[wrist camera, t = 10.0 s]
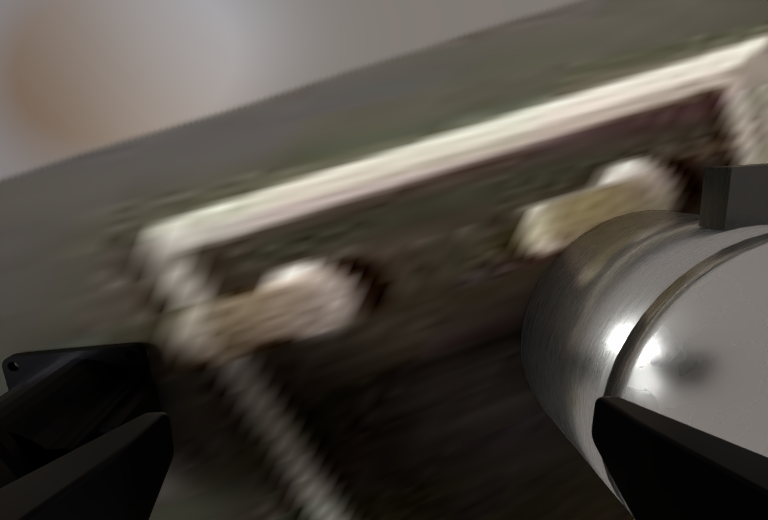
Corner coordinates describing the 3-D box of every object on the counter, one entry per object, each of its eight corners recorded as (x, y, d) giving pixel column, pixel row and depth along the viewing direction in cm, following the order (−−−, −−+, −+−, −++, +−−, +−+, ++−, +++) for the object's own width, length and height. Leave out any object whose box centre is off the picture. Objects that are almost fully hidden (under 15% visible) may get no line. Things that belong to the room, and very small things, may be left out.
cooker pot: (518, 486, 25) (583, 603, 18) (522, 174, 21) (608, 176, 14) (730, 458, 26) (867, 560, 19) (773, 158, 22) (965, 153, 15)
